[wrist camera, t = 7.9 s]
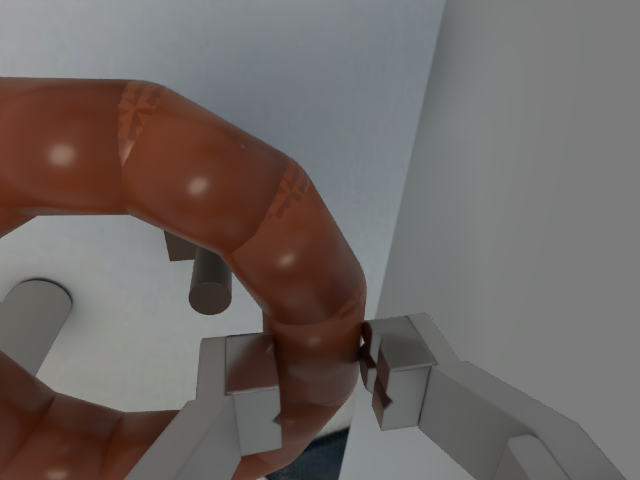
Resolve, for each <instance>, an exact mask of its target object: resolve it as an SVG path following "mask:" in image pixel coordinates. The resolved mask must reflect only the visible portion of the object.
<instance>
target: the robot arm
mask: <svg viewBox="0 0 640 480" xmlns="http://www.w3.org/2000/svg"><path fill="white" fill-rule="evenodd" d="M362 337H363V340H364V342H365V343H364V344H363V345H362V346H361V348H360V357H359V364H360V372H361V376H362V380H363V383H364V386H365V389H366V390H368V391H369V392H371V393H372V394H373V398H372V407H373V410H374V412H375V415H376V418H377V421H378V423H379V426H380V428H381V431H385V430H392V429H399V428H406V427H413V426H419V427H418V428H419V429H420V430H421V431H422V432H423V433H425V434H426V435H427V436H428V437H429V438H430V439H431V440H432V441H434V442H435V443H436V444H437V445H438V446H439V447H440V448H441V449H442V450H444V451H445V452H446V453H447V454H448V455H449V456H450V457H451V458H452V459H454V460H455V461H456V462H457V463H458V464H459V465H460V466H461V467H463V468H464V469H465V470H466V471H467V472H468V473H469V474H470V475H471V476H473V477H474V478H475V479H476V480H626V478H625V477H624V476H623V475H622V474H621V473H620V471H619V470H618V469H617V468H616V467H615V466H614V465H613V463H612V462H611V461H610V460H609V459H608V458H607V456H606V455H605V454H604V453H603V452H602V451H601V449H600V448H599V447H598V446H597V445H596V444H595V442H593V440H592V439H591V438H590V437H589V435H588V434H587V433H586V432H585V431H584V430H583V429H582V427H581V426H580V425H579V424H578V423H576V422H575V421H573V420H571V419H569V418H568V417H566V416H564V415H562V414H561V413H559V412H557V411H555V410H553V409H552V408H550V407H548V406H546V405H544V404H543V403H541V402H539V401H538V400H536V399H534V398H532V397H530V396H528V395H527V394H525V393H523V392H522V391H520V390H518V389H516V388H514V387H513V386H511V385H509V384H507V383H506V382H504V381H502V380H500V379H499V378H497V377H495V376H493V375H491V374H490V373H488V372H486V371H484V370H482V369H481V368H479V367H477V366H475V365H474V364H472V363H470V362H468V361H463V362H461V361H460V359H459V358H458V356H457V355H456V353H455V352H454V350H453V349H452V347H451V346H450V345H449V343H448V342H447V340H446V339H445V338H444V336H443V334H442V333H441V332H440V330H439V329H438V327H437V326H436V324H435V323H434V322H433V320H432V319H431V317H430V316H429V315H428V314H427V313H417V314H410V315H405V316H397V317H390V318H381V319H373V320H365V321H364V322H363V324H362ZM280 411H281V409H280V390H279V380H278V372H277V364H276V360H275V359H274V343H273V336H272V332H262V333H251V334H240V335H230V336H226V337H225V336H224V337H213V338H203V339H202V341H201V343H200V353H199V365H198V376H197V388H196V400H193V401H188V402H187V403H186V404H185V405H184V407H183V408H182V409H181V410H180V411H179V413H178V414H177V415H176V416H175V418H174V419H173V420H172V421H171V422H170V424H169V425H168V426H167V427H166V428H165V430H164V431H163V432H162V433H161V435H160V436H159V437H158V438H157V439H156V441H155V442H154V443H153V444H152V446H151V447H150V448H149V449H148V450H147V452H146V453H145V454H144V455H143V456H142V458H141V459H140V460H139V461H138V463H137V464H136V465H135V466H134V467H133V469H132V470H131V471H130V472H129V474H128V475H127V476H126V477H125V478H124V480H231V478H232V476H233V474H234V472H235V470H236V468H237V466H238V464H239V462H240V460H241V456H245V455H250V454H255V453H260V452H265V451H270V450H275V449H280V448H282V439H281V421H280V413H279V412H280Z"/></svg>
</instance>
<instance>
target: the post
mask: <svg viewBox="0 0 640 480" xmlns="http://www.w3.org/2000/svg"><path fill="white" fill-rule="evenodd" d="M164 234H165V239H166V244H167V249H168V254H169V259H170V261H181V260H193V259H195V260H194V266H193V273H192V279H191V285H190V292H189V303H190V305H191V307H192V308H193V309H194V310H195V311H197V312H199V313H201V314H205V315H215V314H219V313H221V312H223V311H224V310H226V309H227V308H228V307H229V305H230V303H231V299H232V271H231V270H230V268H229V267H228V266H227V264H226V263H225V262H224V261H223V259H222V258H221V257H220V256H219V255H218V254H216V253H213V252H211V251H209V250H207V249H205V248H202V247H200V246H198V245H196V244H193V243H191V242H189V241H187V240H185V239H182V238H180V237H178V236H176V235H173V234H171V233H169V232H167V231H165V230H164Z"/></svg>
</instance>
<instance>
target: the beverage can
mask: <svg viewBox="0 0 640 480" xmlns="http://www.w3.org/2000/svg"><path fill="white" fill-rule="evenodd" d="M70 310H71V301H70V299H69V297H68V295H67V294H66V293H65V291H64V290H63V289H61V288H60V287H59V286H57V285H55V284H53V283H50V282H46V281H36V280H33V281H27V282H23V283H21V284H18V285H17V286H16V287H14V288H13V289H12V290H11V291H10V293H9V294H8V295H7V296H6V298H5V299H4V300H3V301H2V303H1V304H0V350H1V351H3V352H4V353H5V354H6V355H8V356H9V357H10V358H12V359H13V360H14V361H16V362H17V363H18V364H19V365H21V366H22V367H23V368H25V369H26V370H27V371H29V372H30V373H31V374H32V375H34V376H36V374H37V372H38V370H39V368H40V367H41V365H42V363H43V361H44V359H45V357H46V356H47V354H48V352H49V350H50V348H51V346H52V344H53V343H54V341H55V339H56V337H57V335H58V333H59V331H60V330H61V328H62V326H63V324H64V322H65V320H66V319H67V317H68V315H69V313H70Z"/></svg>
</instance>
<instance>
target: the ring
mask: <svg viewBox="0 0 640 480" xmlns="http://www.w3.org/2000/svg"><path fill="white" fill-rule="evenodd" d="M52 215H131V216H134V217H136V218H138V219H140V220H142V221H145V222H147V223H149V224H151V225H153V226H156V227H158V228H160V229H162V230H165V231H167V232H169V233H171V234H173V235H176V236H178V237H180V238H182V239H185V240H187V241H189V242H191V243H193V244H196V245H198V246H200V247H202V248H205V249H207V250H209V251H211V252H213V253H216V254H218V255H219V256H220V257H221V258H222V259H223V261H224V262H225V263H226V264H227V266H228V267H229V268H230V270H231V271H232V272H233V273H234V275H235V276H236V277H237V278H238V280H239V281H240V282H241V283H242V285H243V286H244V287H245V289H246V290H247V291H248V292H249V294H250V295H251V296H252V297H253V299H254V300H255V301H256V303H257V304H258V305H259V306H260V308H261V309H262V314H263V332H272V336H273V343H274V359H275V360H276V364H277V372H278V380H279V390H280V409H281V411H280V412H279V413H280V421H281V439H282V448H280V449H275V450H270V451H265V452H260V453H255V454H250V455H245V456H241V460H240V462H239V464H238V466H237V468H236V470H235V472H234V474H233V476H232V478H231V480H256V479H258V478H261V477H263V476H265V475H268V474H270V473H272V472H274V471H277V470H279V469H281V468H283V467H285V466H287V465H289V464H290V463H292V462H293V461H294V460H295V459H296V458H297V457H298V456H299V455H300V454H301V453H302V452H303V450H304V449H305V448H306V447H307V446H308V445H309V443H310V442H311V441H312V440H313V439H314V438H315V436H316V435H317V434H318V433H319V432H320V431H321V429H322V428H323V427H324V426H325V425H326V424H327V422H328V421H329V420H330V419H331V418H332V417H333V416H334V414H335V413H336V412H337V411H338V410H339V409H340V407H341V406H342V405H343V404H344V403H345V402H346V400H347V399H348V398H349V396H350V395H351V393H352V392H353V390H354V387H355V385H356V382H357V379H358V373H359V365H360V364H359V357H360V348H361V345H362V324H363V322H364V315H365V305H366V294H367V291H366V290H367V287H366V280H365V275H364V272H363V270H362V268H361V265H360V263H359V261H358V260H357V258H356V256H355V255H354V253H353V251H352V249H351V248H350V246H349V244H348V243H347V241H346V239H345V237H344V236H343V234H342V232H341V231H340V229H339V227H338V226H337V224H336V222H335V220H334V219H333V217H332V215H331V214H330V212H329V210H328V208H327V207H326V205H325V203H324V202H323V200H322V198H321V196H320V195H319V193H318V191H317V190H316V188H315V186H314V184H313V183H312V181H311V179H310V178H309V176H308V175H307V173H306V172H305V170H304V169H303V168H302V167H301V166H300V165H299V164H298V163H297V162H296V161H295V160H294V159H292V158H290V157H289V156H287V155H286V154H284V153H282V152H281V151H279V150H277V149H275V148H274V147H272V146H270V145H268V144H266V143H265V142H263V141H261V140H259V139H258V138H256V137H254V136H252V135H251V134H249V133H247V132H245V131H244V130H242V129H240V128H238V127H237V126H235V125H233V124H231V123H229V122H228V121H226V120H224V119H222V118H221V117H219V116H217V115H215V114H214V113H212V112H210V111H208V110H207V109H205V108H203V107H201V106H199V105H198V104H196V103H194V102H192V101H191V100H189V99H187V98H185V97H184V96H182V95H180V94H178V93H177V92H175V91H173V90H171V89H169V88H167V87H165V86H162V85H160V84H157V83H153V82H149V81H142V80H124V79H75V78H26V77H0V238H1V237H3V236H5V235H6V234H8V233H10V232H11V231H13V230H15V229H16V228H18V227H20V226H21V225H23V224H25V223H26V222H28V221H30V220H31V219H33V218H35V217H36V216H52ZM179 411H180V410H164V411H145V412H127V413H125V412H122V411H118V410H115V409H112V408H108V407H105V406H101V405H98V404H95V403H91V402H88V401H85V400H81V399H78V398H74V397H71V396H68V395H64V394H61V393H57V392H55V391H53V390H52V389H51V388H49V387H48V386H47V385H45V384H44V383H43V382H42V381H40V380H39V379H38V378H36V377H35V376H34V375H32V374H31V373H30V372H29V371H27V370H26V369H25V368H23V367H22V366H21V365H19V364H18V363H17V362H16V361H14V360H13V359H12V358H10V357H9V356H8V355H6V354H5V353H4V352H3V351H1V350H0V480H124V478H125V477H126V476H127V475H128V474H129V472H130V471H131V470H132V469H133V467H134V466H135V465H136V464H137V463H138V461H139V460H140V459H141V458H142V456H143V455H144V454H145V453H146V452H147V450H148V449H149V448H150V447H151V446H152V444H153V443H154V442H155V441H156V439H157V438H158V437H159V436H160V435H161V433H162V432H163V431H164V430H165V428H166V427H167V426H168V425H169V424H170V422H171V421H172V420H173V419H174V418H175V416H176V415H177V414H178V413H179Z"/></svg>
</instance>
